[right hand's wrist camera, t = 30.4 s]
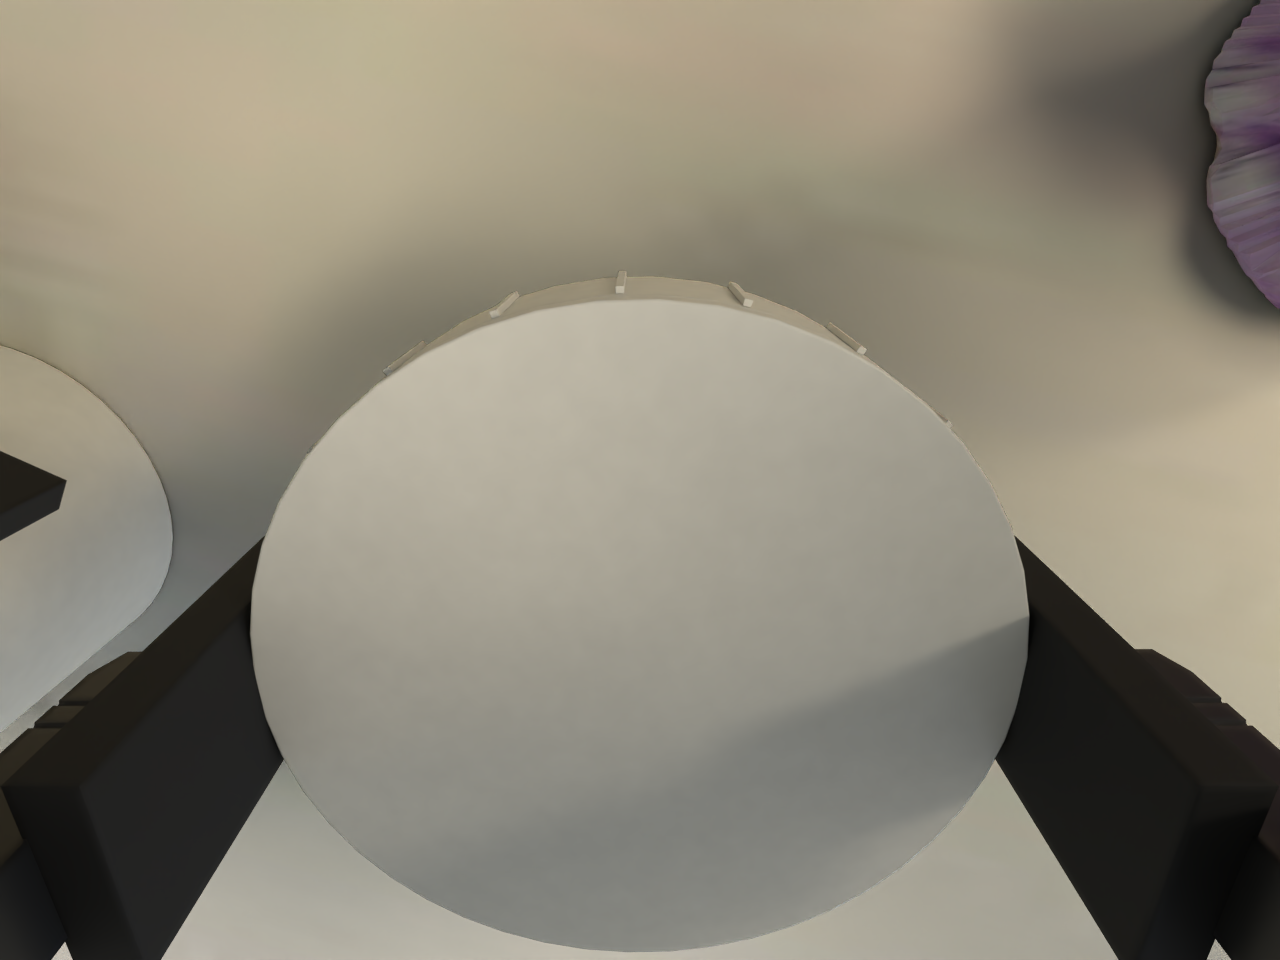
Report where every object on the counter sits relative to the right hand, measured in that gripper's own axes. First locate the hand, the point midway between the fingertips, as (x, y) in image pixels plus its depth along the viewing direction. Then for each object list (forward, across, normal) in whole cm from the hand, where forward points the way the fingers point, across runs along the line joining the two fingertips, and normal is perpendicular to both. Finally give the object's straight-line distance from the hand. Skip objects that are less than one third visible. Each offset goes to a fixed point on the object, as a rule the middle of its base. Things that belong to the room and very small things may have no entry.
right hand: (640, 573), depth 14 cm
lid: (-3, 0, 0) cm, 3 cm away
